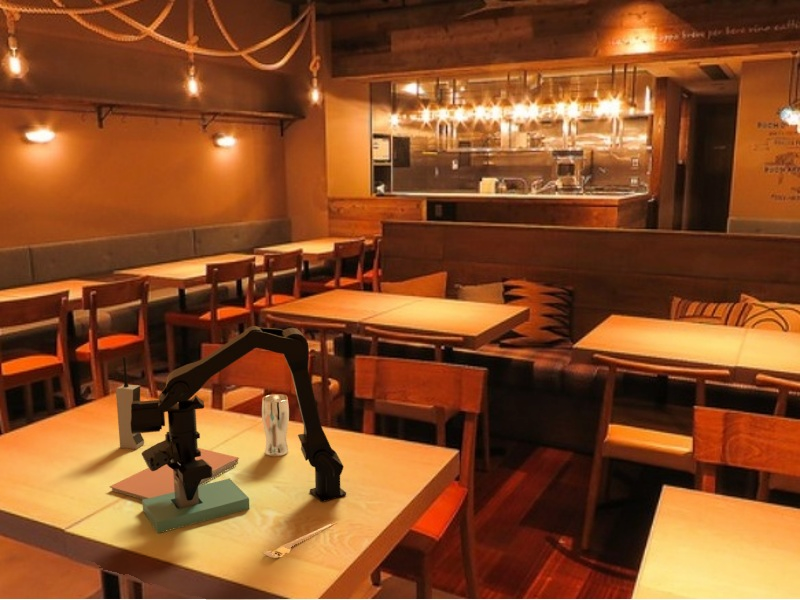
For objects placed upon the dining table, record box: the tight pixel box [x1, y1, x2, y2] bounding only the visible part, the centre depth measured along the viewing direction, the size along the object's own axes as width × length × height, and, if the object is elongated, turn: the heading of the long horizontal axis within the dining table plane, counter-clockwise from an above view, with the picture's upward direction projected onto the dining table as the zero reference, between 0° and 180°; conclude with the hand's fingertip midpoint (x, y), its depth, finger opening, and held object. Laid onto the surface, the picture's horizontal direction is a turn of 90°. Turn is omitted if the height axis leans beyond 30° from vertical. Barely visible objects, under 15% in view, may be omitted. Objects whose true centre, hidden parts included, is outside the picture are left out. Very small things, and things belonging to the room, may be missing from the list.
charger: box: [173, 468, 199, 509], centre depth 157 cm, size 4×4×8 cm
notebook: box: [109, 447, 240, 500], centre depth 176 cm, size 27×17×2 cm, turn 153°
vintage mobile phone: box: [115, 356, 145, 450], centre depth 192 cm, size 4×5×25 cm
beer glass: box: [261, 393, 290, 458], centre depth 189 cm, size 7×7×15 cm
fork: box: [259, 523, 332, 559], centre depth 146 cm, size 3×20×2 cm, turn 140°
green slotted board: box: [141, 477, 250, 534], centre depth 159 cm, size 12×20×2 cm, turn 123°
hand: (186, 496), depth 157 cm, fingers closed on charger, 4 cm apart
